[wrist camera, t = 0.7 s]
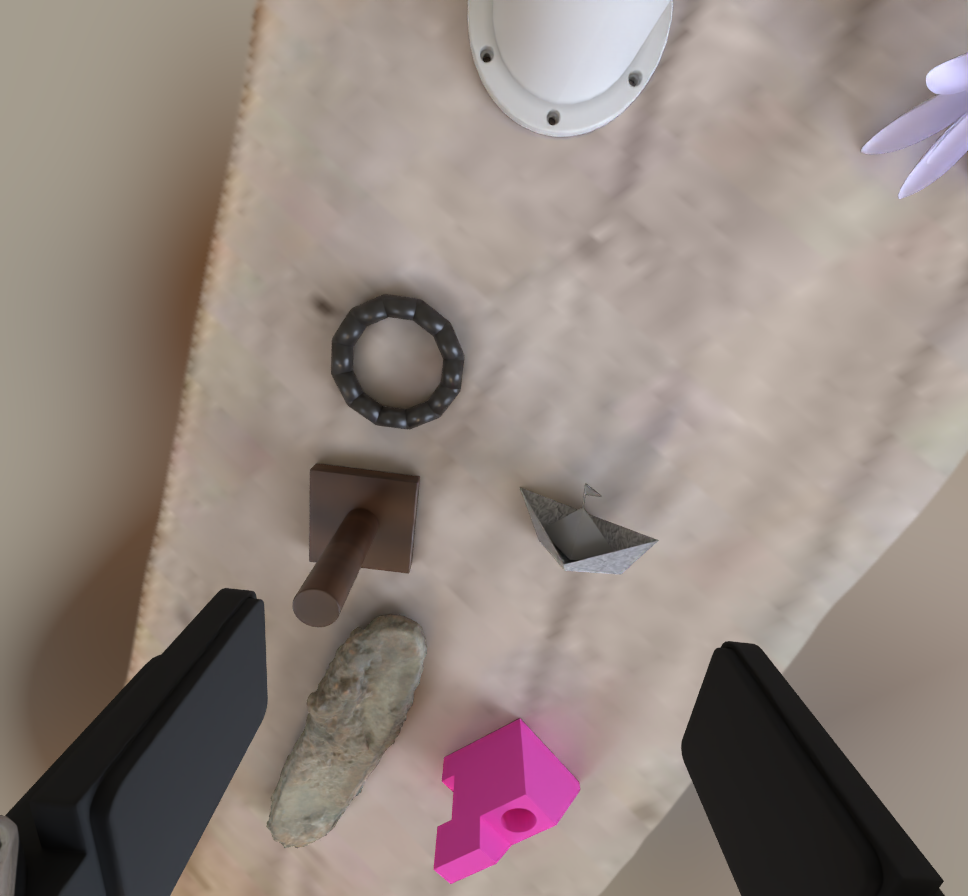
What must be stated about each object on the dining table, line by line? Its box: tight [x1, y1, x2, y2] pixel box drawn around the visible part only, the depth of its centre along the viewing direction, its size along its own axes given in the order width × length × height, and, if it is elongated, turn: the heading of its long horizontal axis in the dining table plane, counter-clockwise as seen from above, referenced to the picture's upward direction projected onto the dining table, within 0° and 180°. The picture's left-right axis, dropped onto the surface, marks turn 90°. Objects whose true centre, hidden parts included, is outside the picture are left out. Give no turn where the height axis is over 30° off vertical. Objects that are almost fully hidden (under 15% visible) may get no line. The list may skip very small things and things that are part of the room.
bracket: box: [434, 719, 580, 884], centre depth 46 cm, size 12×10×10 cm
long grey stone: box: [266, 614, 427, 848], centre depth 47 cm, size 35×5×10 cm
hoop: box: [331, 294, 464, 429], centre depth 35 cm, size 10×10×2 cm
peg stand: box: [293, 464, 420, 627], centre depth 34 cm, size 9×9×12 cm
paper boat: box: [520, 484, 659, 574], centre depth 37 cm, size 12×6×9 cm
